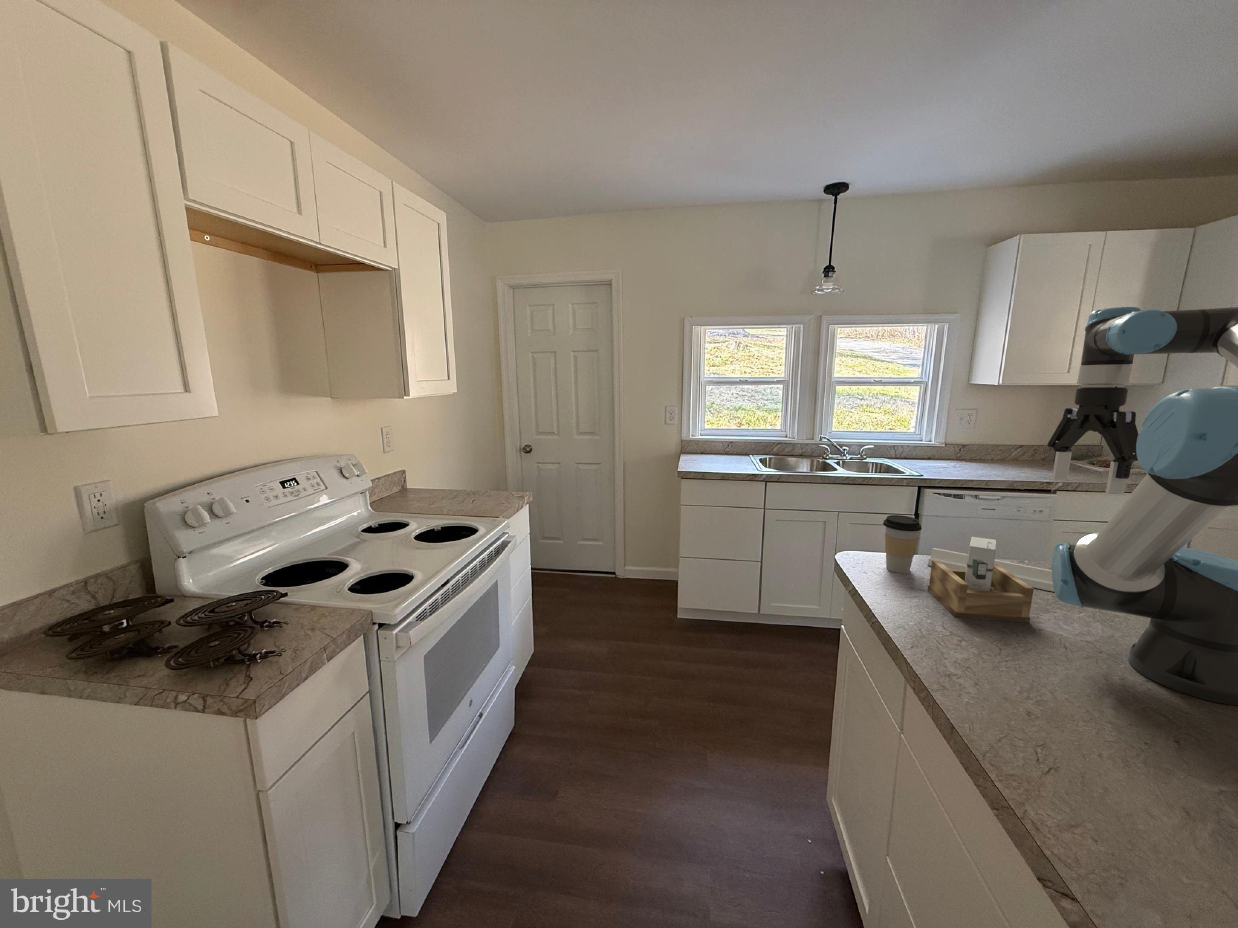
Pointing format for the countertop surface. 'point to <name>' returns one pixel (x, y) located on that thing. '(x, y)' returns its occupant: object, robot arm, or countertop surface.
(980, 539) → the ink box
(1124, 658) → the countertop surface
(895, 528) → the coffee cup
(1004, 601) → the open wooden box
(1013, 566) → the crown molding
